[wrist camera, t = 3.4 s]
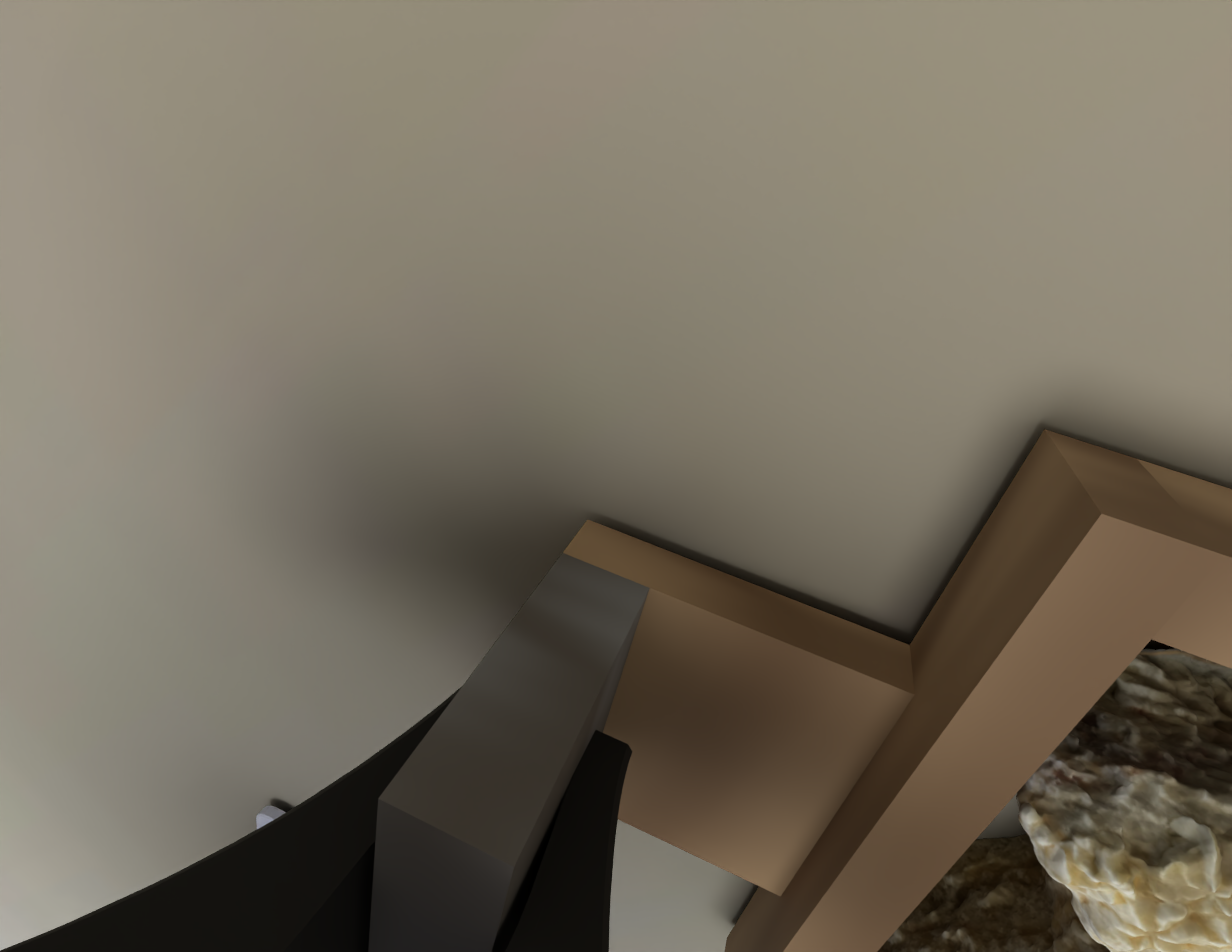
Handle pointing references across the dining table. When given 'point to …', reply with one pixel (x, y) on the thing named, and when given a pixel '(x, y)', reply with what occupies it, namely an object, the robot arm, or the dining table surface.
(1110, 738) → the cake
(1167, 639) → the pull frame
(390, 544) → the dining table surface
